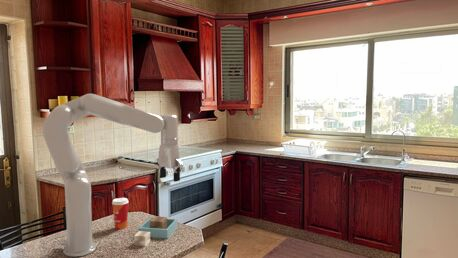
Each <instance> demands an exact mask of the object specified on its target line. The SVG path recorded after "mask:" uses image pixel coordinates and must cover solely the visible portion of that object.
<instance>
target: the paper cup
mask: <svg viewBox="0 0 458 258" xmlns="http://www.w3.org/2000/svg"><path fill="white" fill-rule="evenodd" d="M129 203H130V202H129V199H128V198H126V197H118V198H114V199H113V200H112V202H111V204H112V212H113V221H114V223H113V224H114V230H123V229H126V228H127V227H128V211H129Z"/></svg>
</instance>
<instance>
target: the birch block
mask: <svg viewBox="0 0 458 258" xmlns="http://www.w3.org/2000/svg"><path fill="white" fill-rule="evenodd" d="M133 241H134V246H135V247H147V245H149V243H150V242H151V237H150V232H145V231H139V230H138V232H137V233H135V234H134V235H133Z"/></svg>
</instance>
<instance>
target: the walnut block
mask: <svg viewBox="0 0 458 258" xmlns="http://www.w3.org/2000/svg"><path fill="white" fill-rule="evenodd" d="M167 218H168V216H156V215H155V216H154V217H153V219H151V220H150V228H157V229H167Z"/></svg>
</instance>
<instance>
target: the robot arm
mask: <svg viewBox="0 0 458 258" xmlns="http://www.w3.org/2000/svg"><path fill="white" fill-rule="evenodd" d="M88 116H94V117H96V118H101V119H103V120H107V121H110V122H114V123H117V124H120V125H124V126H129V127H133V128H136V129H139V130H143V131H146V132H149V133H152V134H156V133H157V134H158V133H160V144H159V151H158V158H156V163H157V167H158V169H159V178H160V179H164V178H166V177H167V169H172V170H173V182H175V183H176V182H179V181H181V172H182V170H183V167H184V163H183V162H182V161H181V158H180V148H179V143H178V141H179V140H178V139H179V138H178V136H179V135H178V133H179V132H178V129H179V128H178V125H179V124H178V123H179V122H178V115H175V114H163V115H158V114H154V113H151V112H147V111H145V110H142V109H138V108H135V107H134V106H130V105H128V104H126V103H123V102H121V101H120V102H119V101H118V100H113V99H110V98H107V97H105V96H101V95H98V94H94V93H86V94H84V95H81V96H80V97H77V98H74V99H73V100H70V101H67V102H65V103H61V104H59V105H57V106H56V107H55V108H53V109H52V110H51V112H49V114H47V116H46V118H45V120H44V121H43V125H42V135H43V139H44V141H45V144H46V146H47V148H48V152H49V154H50V157H51V158H52V160H53V164H54V167H55V169H56V170H57V171H58V172H59V175H60V177H61V179H62V182H63V184H64V197H65V198H64V201H65V219H66V220H65V221H66V237H61V238H60V242H59V245H61V246H64V248H63V255H64V256H67V257H71V258H73V257H74V258H75V257H83V256H86V255H90V254H92V253H93V252H94V251H95V250H97V249H98V244H97V243H96V242H95V241H93V219H92V217H93V216H92V215H93V214H92V185H91V181H90V177H89V176H88V174H87V171H86V169H85V166H84V164H83V162H82V160H81V157H80V155H79V153H78V151H77V150H76V149H75V147H74V146H73V143H72V139H71V137H70V136H69V133H68V132H69V131H68V130H69V127H70V126H71V125H72V124H73V123H74V122H76V121H79V120H81V119H83V118H85V117H88Z"/></svg>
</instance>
